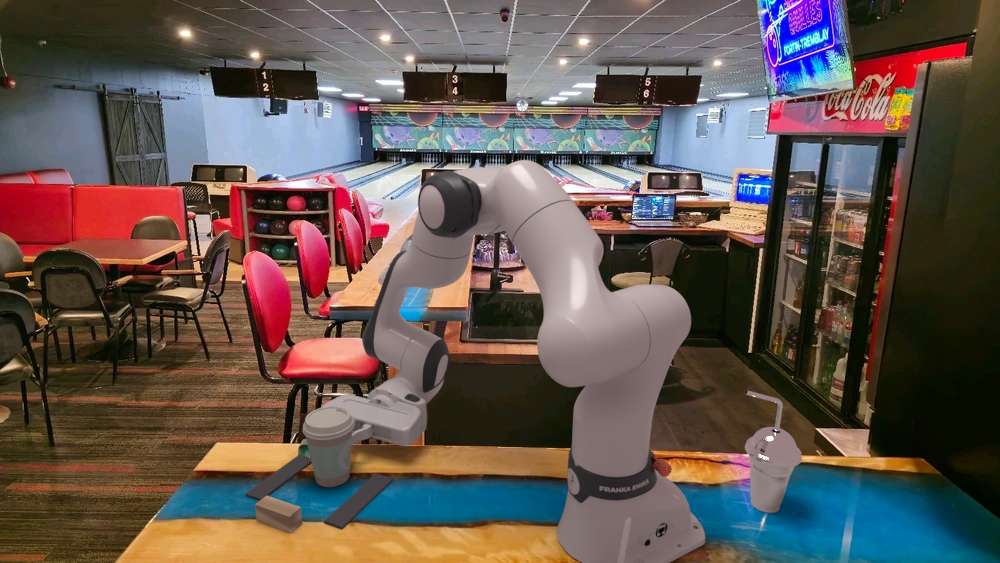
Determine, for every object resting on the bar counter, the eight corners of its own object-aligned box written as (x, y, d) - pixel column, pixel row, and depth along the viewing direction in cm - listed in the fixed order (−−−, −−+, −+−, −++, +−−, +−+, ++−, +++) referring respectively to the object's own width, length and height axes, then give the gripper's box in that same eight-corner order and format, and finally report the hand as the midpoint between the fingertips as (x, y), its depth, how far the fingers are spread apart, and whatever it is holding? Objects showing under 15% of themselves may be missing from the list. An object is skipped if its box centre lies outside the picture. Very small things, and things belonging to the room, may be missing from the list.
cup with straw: (782, 528, 97) (801, 414, 91) (726, 503, 103) (740, 394, 97) (800, 503, 103) (819, 394, 97) (746, 481, 109) (761, 377, 103)
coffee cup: (344, 495, 104) (340, 432, 101) (298, 488, 106) (292, 426, 102) (365, 466, 112) (361, 407, 109) (321, 461, 114) (316, 402, 110)
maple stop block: (268, 511, 100) (266, 495, 99) (302, 523, 97) (300, 507, 96) (256, 520, 98) (254, 504, 97) (291, 533, 95) (289, 516, 94)
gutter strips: (303, 453, 116) (302, 451, 116) (392, 480, 108) (392, 478, 108) (245, 495, 104) (245, 493, 104) (342, 529, 96) (341, 527, 96)
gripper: (345, 381, 126) (298, 411, 114) (432, 401, 118) (391, 436, 106) (347, 409, 128) (301, 441, 116) (433, 431, 120) (392, 468, 108)
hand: (344, 439), depth 111 cm, fingers closed, pressing on coffee cup
